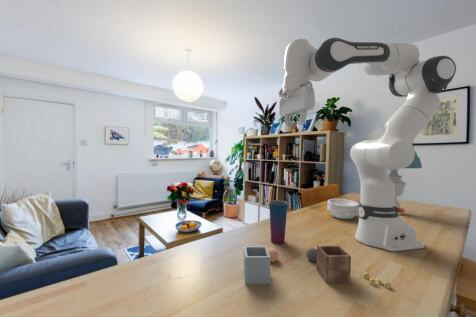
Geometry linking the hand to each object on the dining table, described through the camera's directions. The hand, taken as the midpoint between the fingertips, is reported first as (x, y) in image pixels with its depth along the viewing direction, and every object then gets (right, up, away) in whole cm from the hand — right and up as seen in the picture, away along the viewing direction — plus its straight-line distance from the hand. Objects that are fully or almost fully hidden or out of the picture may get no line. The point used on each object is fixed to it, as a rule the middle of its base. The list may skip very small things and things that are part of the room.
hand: (295, 126), depth 81 cm
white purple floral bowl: (+34, -43, +36) cm, 65 cm away
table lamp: (+66, -42, +44) cm, 90 cm away
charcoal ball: (+3, -44, -11) cm, 45 cm away
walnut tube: (+5, -44, -20) cm, 49 cm away
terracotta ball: (-10, -44, -11) cm, 47 cm away
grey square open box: (-16, -44, -21) cm, 51 cm away
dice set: (+15, -45, -23) cm, 53 cm away
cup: (-6, -44, +4) cm, 44 cm away
